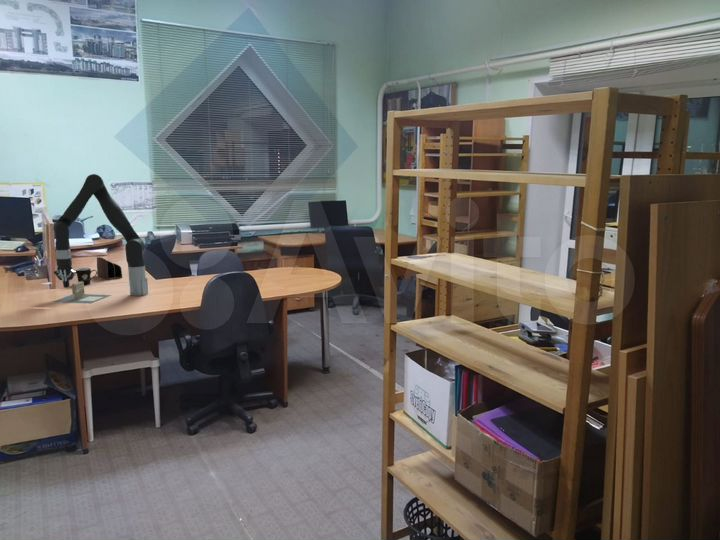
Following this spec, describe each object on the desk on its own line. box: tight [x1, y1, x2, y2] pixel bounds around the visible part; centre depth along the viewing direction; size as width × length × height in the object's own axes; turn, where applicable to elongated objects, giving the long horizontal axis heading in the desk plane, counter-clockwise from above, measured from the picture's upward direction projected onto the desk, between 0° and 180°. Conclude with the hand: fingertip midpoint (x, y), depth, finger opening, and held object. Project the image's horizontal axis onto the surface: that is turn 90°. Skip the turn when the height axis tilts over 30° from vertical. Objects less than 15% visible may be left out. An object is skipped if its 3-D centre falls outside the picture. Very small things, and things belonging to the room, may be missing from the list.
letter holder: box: [96, 256, 123, 281], centre depth 371 cm, size 10×20×14 cm, turn 44°
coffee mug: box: [75, 267, 98, 286], centre depth 348 cm, size 12×9×10 cm
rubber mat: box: [51, 293, 112, 304], centre depth 307 cm, size 24×20×1 cm
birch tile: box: [71, 281, 86, 300], centre depth 306 cm, size 3×7×9 cm, turn 173°
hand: (66, 287), depth 307 cm, fingers closed
